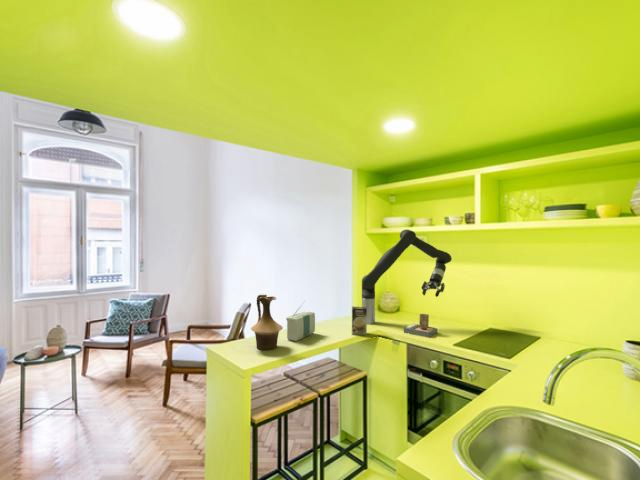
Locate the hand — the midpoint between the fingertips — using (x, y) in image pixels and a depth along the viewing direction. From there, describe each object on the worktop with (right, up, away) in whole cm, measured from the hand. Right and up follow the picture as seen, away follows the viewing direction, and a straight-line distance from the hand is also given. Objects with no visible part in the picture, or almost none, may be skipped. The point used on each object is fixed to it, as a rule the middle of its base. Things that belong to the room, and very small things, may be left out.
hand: (429, 295), depth 210 cm
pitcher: (-101, -21, -39) cm, 110 cm away
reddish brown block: (-8, -19, -12) cm, 24 cm away
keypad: (-9, -21, -11) cm, 26 cm away
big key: (-8, -21, -12) cm, 25 cm away
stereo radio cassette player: (-83, -22, -19) cm, 88 cm away
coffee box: (-48, -22, -13) cm, 54 cm away
